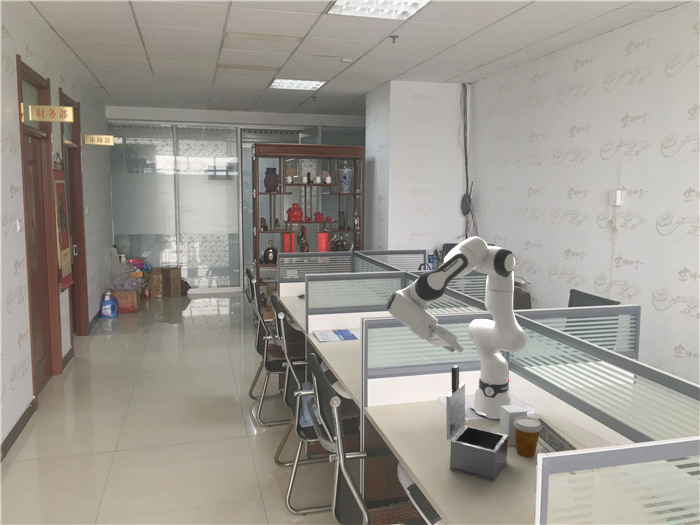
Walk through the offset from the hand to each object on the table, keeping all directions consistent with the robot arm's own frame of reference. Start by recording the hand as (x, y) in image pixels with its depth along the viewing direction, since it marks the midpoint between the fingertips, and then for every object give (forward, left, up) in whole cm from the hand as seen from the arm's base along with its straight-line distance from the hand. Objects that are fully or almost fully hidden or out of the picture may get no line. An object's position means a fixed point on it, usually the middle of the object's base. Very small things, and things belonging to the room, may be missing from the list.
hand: (457, 350), depth 198 cm
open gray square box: (+6, +11, -37) cm, 39 cm away
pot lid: (+6, +3, -15) cm, 17 cm away
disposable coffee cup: (-12, +23, -37) cm, 45 cm away
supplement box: (-20, +16, -37) cm, 45 cm away
